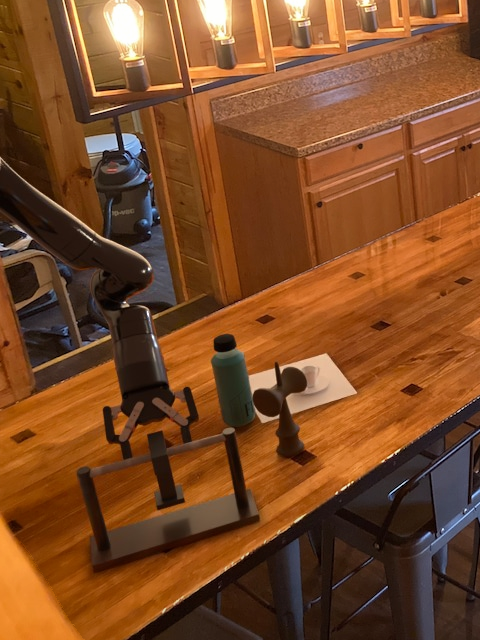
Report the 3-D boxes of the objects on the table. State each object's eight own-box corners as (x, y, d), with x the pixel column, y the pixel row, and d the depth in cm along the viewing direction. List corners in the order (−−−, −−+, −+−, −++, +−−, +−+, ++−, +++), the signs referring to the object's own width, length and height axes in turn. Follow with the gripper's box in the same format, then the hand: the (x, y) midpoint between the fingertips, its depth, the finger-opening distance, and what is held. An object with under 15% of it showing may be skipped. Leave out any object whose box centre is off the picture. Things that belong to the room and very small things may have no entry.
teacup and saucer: (294, 401, 199) (291, 384, 197) (282, 384, 205) (280, 368, 203) (334, 388, 203) (332, 372, 202) (322, 372, 209) (320, 356, 208)
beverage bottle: (251, 433, 188) (235, 346, 180) (218, 433, 188) (200, 346, 180) (262, 414, 194) (246, 329, 186) (229, 415, 194) (213, 329, 186)
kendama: (262, 462, 180) (245, 371, 172) (292, 434, 188) (278, 346, 180) (288, 468, 178) (273, 377, 170) (318, 439, 186) (305, 351, 178)
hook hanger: (155, 496, 164) (139, 432, 159) (182, 488, 166) (168, 425, 161) (160, 525, 157) (144, 460, 152) (188, 517, 159) (173, 452, 154)
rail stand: (93, 573, 153) (69, 488, 147) (91, 543, 160) (68, 460, 153) (260, 521, 165) (245, 439, 158) (251, 494, 171) (237, 415, 164)
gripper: (91, 370, 157) (110, 465, 152) (183, 349, 163) (204, 439, 158) (97, 382, 163) (115, 473, 159) (185, 362, 169) (205, 449, 165)
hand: (159, 456), depth 159 cm, fingers open, 8 cm apart
